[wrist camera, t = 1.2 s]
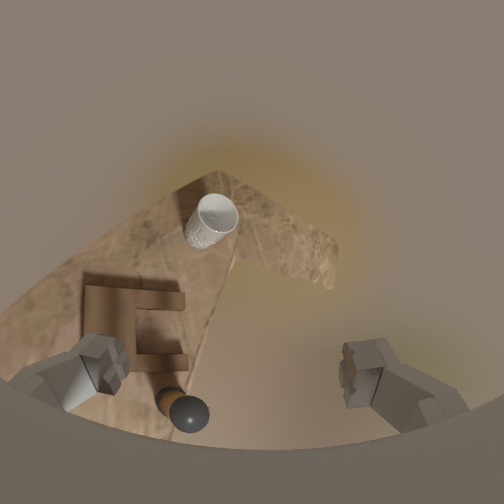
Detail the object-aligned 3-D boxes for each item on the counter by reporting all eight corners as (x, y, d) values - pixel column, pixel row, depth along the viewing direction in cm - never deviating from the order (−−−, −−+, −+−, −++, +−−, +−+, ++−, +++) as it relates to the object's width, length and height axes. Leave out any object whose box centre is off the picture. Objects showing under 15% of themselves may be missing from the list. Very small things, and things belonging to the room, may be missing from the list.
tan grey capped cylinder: (157, 417, 39) (173, 435, 30) (154, 387, 41) (168, 397, 32) (194, 414, 42) (218, 429, 34) (191, 385, 44) (215, 393, 36)
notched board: (86, 368, 36) (85, 369, 34) (86, 287, 40) (85, 284, 38) (184, 369, 45) (188, 370, 43) (180, 295, 49) (184, 292, 47)
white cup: (183, 212, 56) (200, 188, 48) (217, 222, 59) (239, 200, 51) (178, 247, 52) (195, 226, 44) (215, 255, 56) (237, 237, 48)
